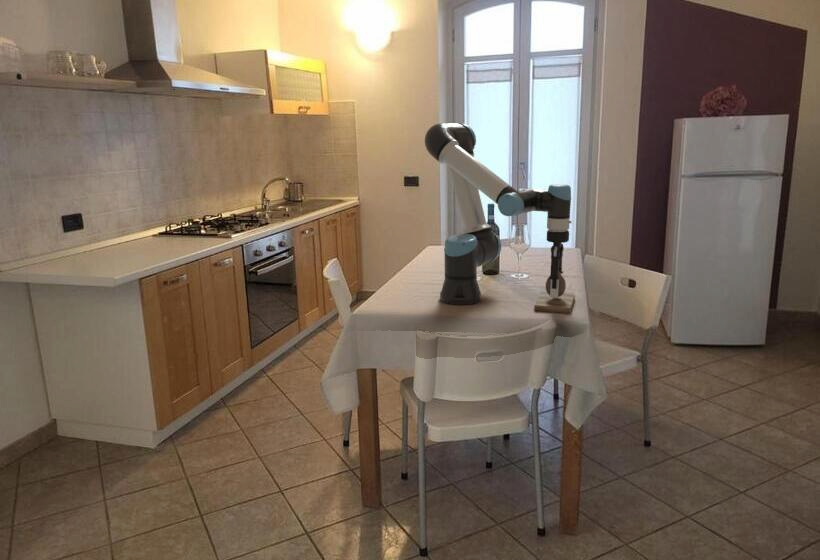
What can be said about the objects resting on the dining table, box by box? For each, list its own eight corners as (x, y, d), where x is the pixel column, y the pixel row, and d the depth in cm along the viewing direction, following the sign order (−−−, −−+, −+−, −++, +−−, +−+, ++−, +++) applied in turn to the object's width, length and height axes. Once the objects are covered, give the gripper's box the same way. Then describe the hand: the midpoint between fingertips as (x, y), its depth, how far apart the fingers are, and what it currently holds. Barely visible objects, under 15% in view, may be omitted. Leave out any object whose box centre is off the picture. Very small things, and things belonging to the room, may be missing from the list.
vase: (569, 297, 215) (570, 272, 213) (551, 299, 213) (552, 274, 211) (558, 292, 222) (560, 268, 219) (541, 293, 220) (542, 270, 218)
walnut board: (570, 313, 208) (570, 307, 208) (534, 310, 212) (534, 305, 211) (574, 299, 225) (574, 294, 224) (541, 296, 228) (541, 291, 228)
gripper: (566, 235, 201) (563, 302, 207) (571, 225, 219) (568, 288, 225) (543, 234, 204) (540, 301, 210) (550, 225, 222) (547, 286, 228)
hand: (555, 294), depth 217 cm, fingers closed on vase, 7 cm apart
